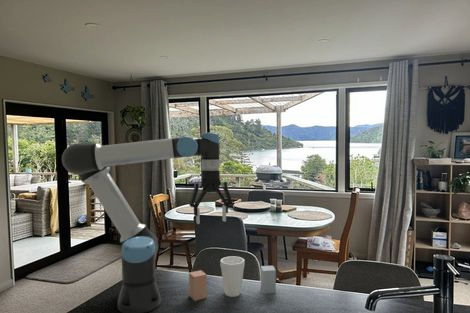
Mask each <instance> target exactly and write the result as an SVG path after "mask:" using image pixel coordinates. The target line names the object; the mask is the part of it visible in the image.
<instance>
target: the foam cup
mask: <svg viewBox="0 0 470 313" xmlns="http://www.w3.org/2000/svg"><path fill="white" fill-rule="evenodd" d="M245 262H246V261H245V259H244V258H243V257H240V256H236V255H235V256H226V257H225V256H224V257H223V258H221V259H220V261H219V263H220V264H219V266H220V269H221V278H222V283H223V292H224V295H225V296H227V297H232V298H233V297H234V298H235V297H238V296H240V295H241V294H242V293H241V292H242V286H243V278H244V270H245V267H246V266H245Z"/></svg>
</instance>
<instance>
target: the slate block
mask: <svg viewBox="0 0 470 313" xmlns="http://www.w3.org/2000/svg"><path fill="white" fill-rule="evenodd" d="M276 272H277V271H276V268H275V266H274V265H261V266H260V289H261V291H262V294H276V293H277V286H276V284H277V281H276V279H277V278H276V277H277V276H276V275H277V274H276Z"/></svg>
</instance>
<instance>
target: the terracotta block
mask: <svg viewBox="0 0 470 313" xmlns="http://www.w3.org/2000/svg"><path fill="white" fill-rule="evenodd" d="M207 279H208V277H207V273H205V272H204V271H203V270H201V269H200V270H195V271H191V272H188V280H189V281H188V284H189V287H188V288H189V289H188V290H189V294H188V295H189V297H190V298H191V299H192V300H193V301H194V302H196V301H199V300H200V301H201V300H204V299H206V298H208V297H207V294H208V292H207V290H208V289H207V286H208V285H207Z"/></svg>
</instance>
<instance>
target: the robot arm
mask: <svg viewBox="0 0 470 313" xmlns="http://www.w3.org/2000/svg"><path fill="white" fill-rule="evenodd" d="M220 145H221V143H220V135H219V133H217V132H202V133H201V135H200V137H193V136H189V135H185V136H180V137H179V136H178V137H170V138H162V139H161V138H160V139H152V140H151V139H149V140H141V141H135V142H133V141H132V142H124V143H123V142H122V143H116V144H105V145H101V144H100V143H90V142H89V143H88V142H85V143H82V142H79V143H77V142H76V143H73V144H70V145H69V146H67V148H65V149H64V151H63V153H62V155H61V163H62V165H63V167H64V168H65V170H66V171H67V172H69V173H70V174H73V175H77V176H78V178H79V179H80V181H81V183H83V184H86V185H88V186H89V187H90V189H91V190H92V192H93V193H94V195H95V196H96V198H97V200H98V202H99V203H100V205H101V206H102V207H103V208H102V209H104V211H105V212H106V214H107V216H108V217H109V218H110V220H111V222H112V224H114V227H115V228H116V230H117V231H118V233H119V234H120V239H119V242H120V244H121V251H120V252H121V274H122V275H121V276H122V277H121V278H122V279H121V280H122V281H121V283H122V286H121V288H120V292H119V296H118V298H117V310H118V311H119V312H120V313H147V312H151V311H153V310H155V309H156V308H158V307H159V306H160V304H161V300H162V299H161V293H160V290H159V287H158V285H157V282H156V258H157V254H158V251H159V242H158V238H157V236H156V235H155V234H154V233H153V232H151V231H150V229H149V228H148V226H147V224H144V223H141V222H140V220H139V219H138V218H137V216H136V214H135V212H134V211H133V209H132V207H131V206H130V205H129V203H128V201H127V199H126V198H125V197H124V195H123V193H122V192H121V190H120V188H119V187H118V185H117V184H116V181H114V178H113V177H112V176H111V174H110V170H111V167H113V166H120V165H121V166H122V165H130V164H139V163H145V162H146V163H147V162H153V161H154V162H155V161H163V160H169V159H179V158H191V157H194V156H198V157H199V156H201V169H202V170H201V182H194V183H193V184H194V188H193V191H192V194H191V198H190V199H189V200H190V201H189V206H190V208H193V214H194V216H195V217H196V219H195V221H196V224H197V225H199V224H200V222H201V220H200V214H201V213H200V211H201V210H200V207H199V206H200V204H201V202H202V200H203V199H204V197H205V195H207V193H216V194H217V195H218V196H217V197H218V198H219V199H220V201H221V202H222V203H223V205H222V208H221V210H222V212H221V214H222V216H221V217H222V218H221V219H222V222H227V214H228V213H229V206H230V205H233V201H232V198H231V194H230V192H229V189H228V182H227V181H221V174H220V173H221V172H220V170H219V169H220V168H221V167H220V166H221V164H220V154H221V153H220V151H221V150H220V148H221V146H220ZM201 187H202V189H201V192H200V193H199V195H198V192H199V188H201ZM220 187H222V189H223V192H224V195H225V196H224V195H223V193H222V191H221V190H220V189H219V188H220ZM197 195H198V197H197Z"/></svg>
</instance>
